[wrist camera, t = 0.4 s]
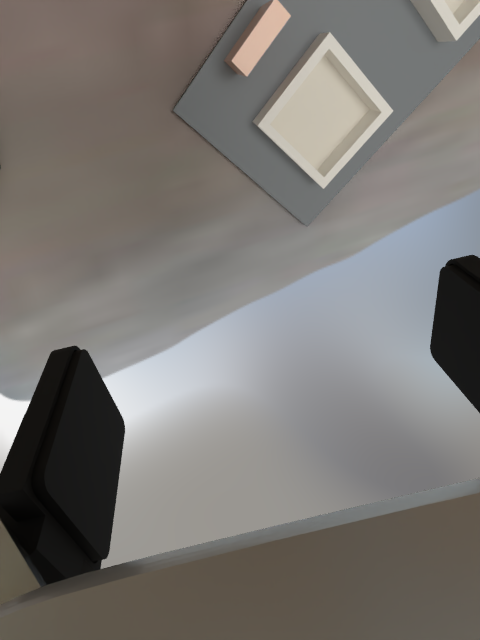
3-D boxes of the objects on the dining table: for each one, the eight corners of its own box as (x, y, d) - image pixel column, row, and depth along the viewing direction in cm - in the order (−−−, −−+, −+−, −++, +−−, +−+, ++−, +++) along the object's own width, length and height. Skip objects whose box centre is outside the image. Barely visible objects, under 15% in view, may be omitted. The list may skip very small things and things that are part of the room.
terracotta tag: (261, 6, 29) (275, -3, 25) (274, 21, 30) (291, 15, 25) (223, 60, 31) (231, 60, 26) (237, 74, 31) (247, 76, 27)
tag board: (467, -329, 23) (510, -385, 20) (572, -72, 30) (615, -85, 27) (173, 109, 33) (172, 114, 30) (304, 223, 40) (314, 236, 37)
